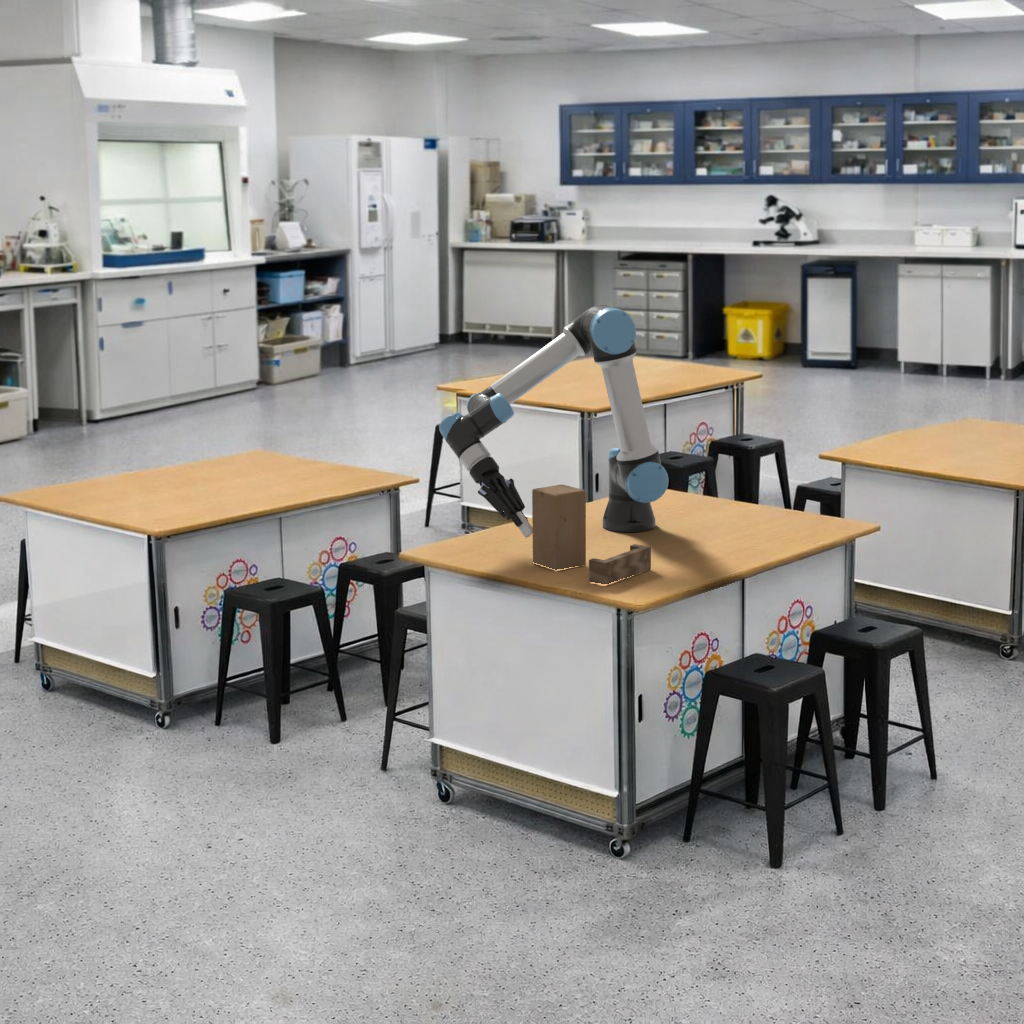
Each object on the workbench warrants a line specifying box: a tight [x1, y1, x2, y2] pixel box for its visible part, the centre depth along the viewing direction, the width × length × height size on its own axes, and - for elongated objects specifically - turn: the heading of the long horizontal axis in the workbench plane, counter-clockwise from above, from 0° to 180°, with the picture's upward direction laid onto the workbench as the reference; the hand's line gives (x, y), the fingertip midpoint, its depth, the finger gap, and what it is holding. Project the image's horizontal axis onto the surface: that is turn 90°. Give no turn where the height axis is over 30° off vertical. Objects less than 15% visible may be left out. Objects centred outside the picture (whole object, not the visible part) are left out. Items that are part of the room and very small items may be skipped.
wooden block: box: [531, 483, 587, 570], centre depth 369 cm, size 10×10×20 cm
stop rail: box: [588, 543, 652, 584], centre depth 359 cm, size 20×5×6 cm, turn 142°
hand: (530, 534), depth 375 cm, fingers closed
